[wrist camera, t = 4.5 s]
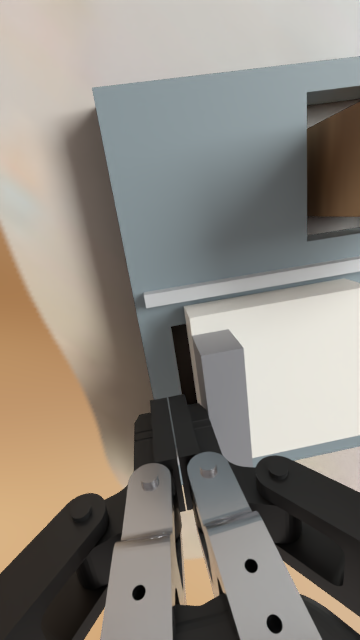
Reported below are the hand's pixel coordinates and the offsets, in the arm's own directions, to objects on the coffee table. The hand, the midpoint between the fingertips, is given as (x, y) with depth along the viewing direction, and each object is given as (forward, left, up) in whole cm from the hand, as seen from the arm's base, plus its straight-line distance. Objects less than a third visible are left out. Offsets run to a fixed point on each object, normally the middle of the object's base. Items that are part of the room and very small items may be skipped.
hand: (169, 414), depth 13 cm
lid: (0, +6, -3) cm, 6 cm away
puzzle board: (-3, +8, -5) cm, 10 cm away
